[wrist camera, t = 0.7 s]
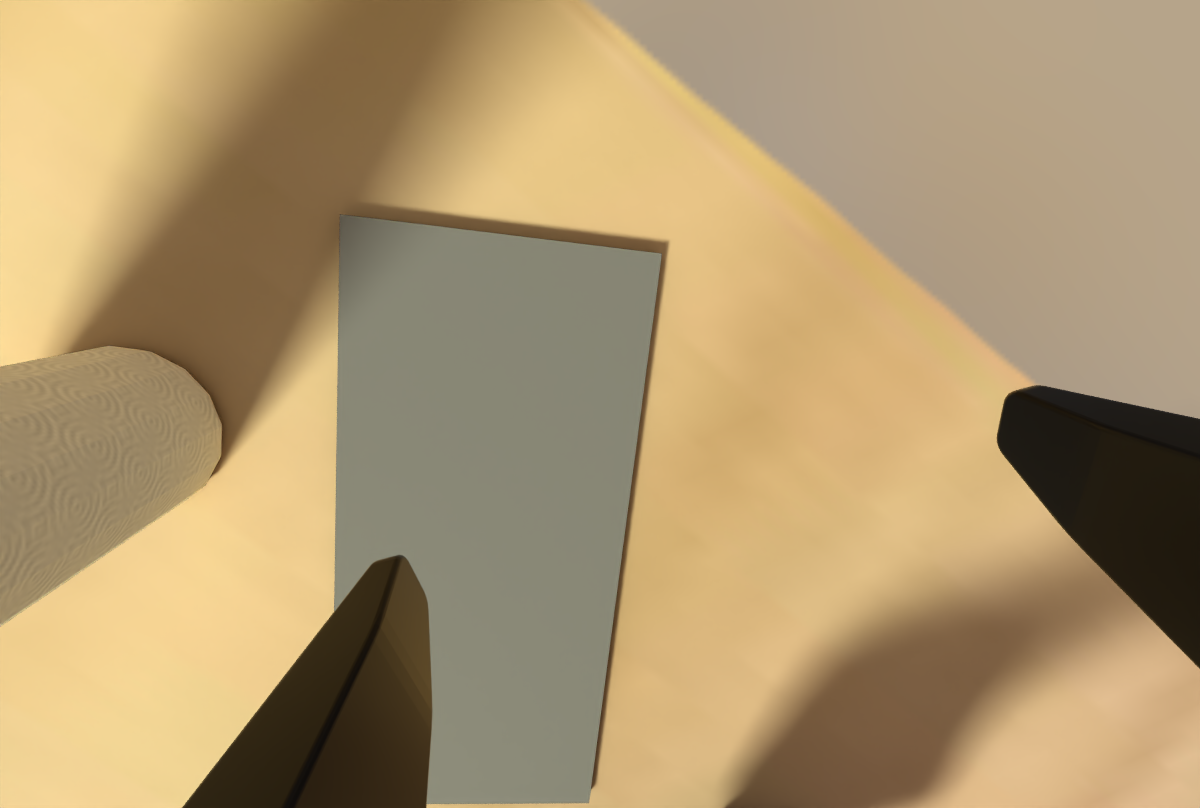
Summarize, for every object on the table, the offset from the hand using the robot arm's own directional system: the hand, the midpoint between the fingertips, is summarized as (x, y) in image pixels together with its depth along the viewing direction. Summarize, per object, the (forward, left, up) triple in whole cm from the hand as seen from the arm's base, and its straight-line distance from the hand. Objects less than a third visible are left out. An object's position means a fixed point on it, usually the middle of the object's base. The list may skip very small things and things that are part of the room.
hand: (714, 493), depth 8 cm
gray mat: (-8, +4, -14) cm, 17 cm away
